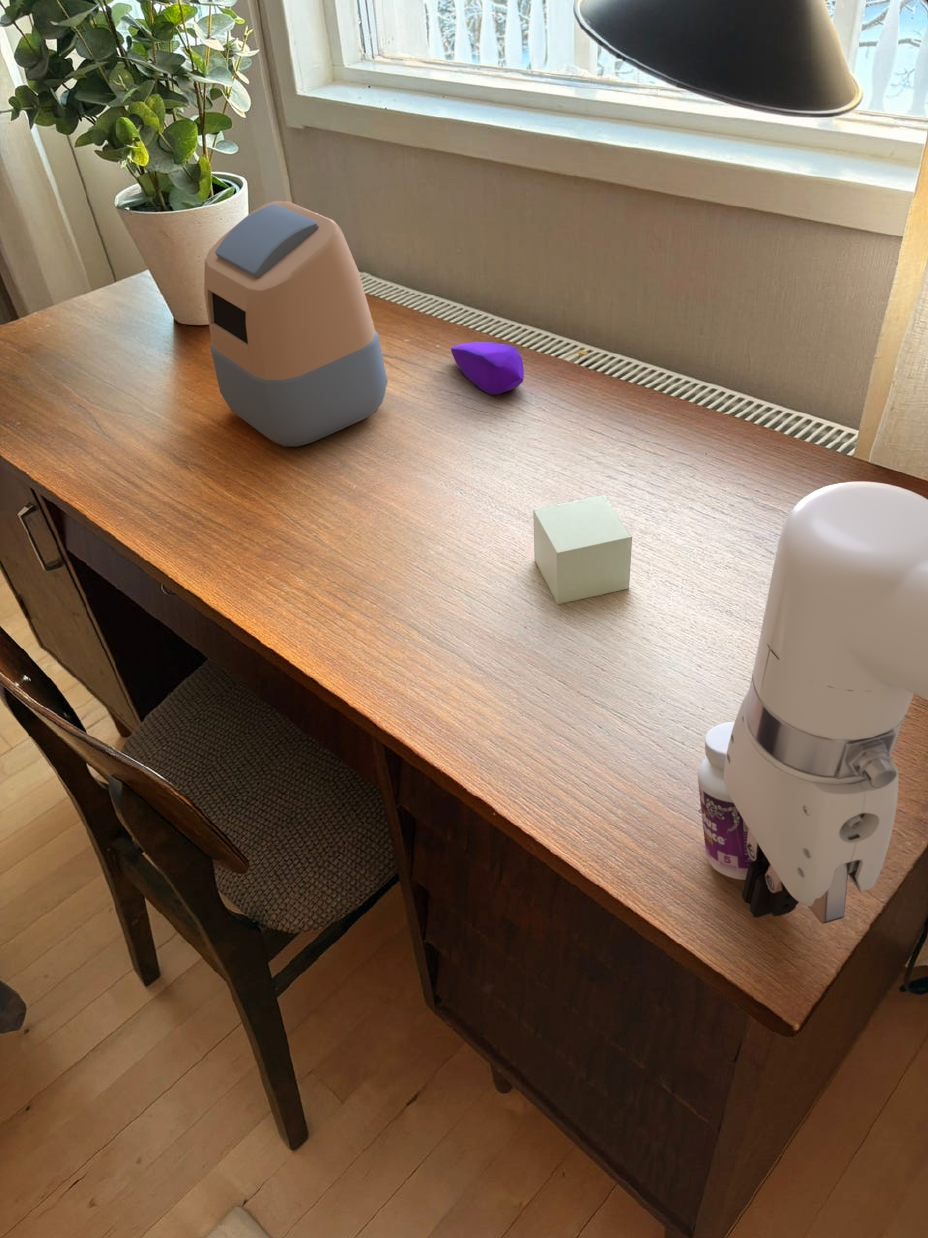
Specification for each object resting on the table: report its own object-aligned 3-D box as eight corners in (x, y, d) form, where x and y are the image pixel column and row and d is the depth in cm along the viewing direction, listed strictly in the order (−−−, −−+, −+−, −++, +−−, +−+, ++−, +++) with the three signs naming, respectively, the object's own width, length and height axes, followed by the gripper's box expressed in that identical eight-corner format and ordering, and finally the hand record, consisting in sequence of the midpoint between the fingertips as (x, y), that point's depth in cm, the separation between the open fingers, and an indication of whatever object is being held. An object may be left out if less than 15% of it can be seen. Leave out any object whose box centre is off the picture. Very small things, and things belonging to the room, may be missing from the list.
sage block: (629, 588, 87) (632, 536, 83) (557, 604, 86) (557, 552, 82) (602, 545, 92) (604, 494, 88) (534, 559, 91) (532, 509, 87)
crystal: (464, 325, 123) (536, 352, 112) (469, 361, 125) (539, 391, 115) (434, 336, 121) (503, 365, 110) (439, 372, 124) (508, 404, 113)
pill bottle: (690, 851, 66) (676, 733, 62) (752, 823, 67) (743, 706, 63) (738, 894, 61) (727, 769, 57) (805, 863, 62) (798, 739, 59)
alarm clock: (216, 414, 117) (164, 224, 102) (329, 368, 125) (295, 184, 109) (285, 466, 107) (237, 263, 92) (403, 412, 114) (377, 216, 99)
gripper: (982, 802, 44) (889, 991, 56) (811, 603, 55) (764, 798, 67) (837, 845, 43) (774, 1028, 55) (691, 633, 54) (666, 825, 66)
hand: (769, 901), depth 61 cm, fingers closed
